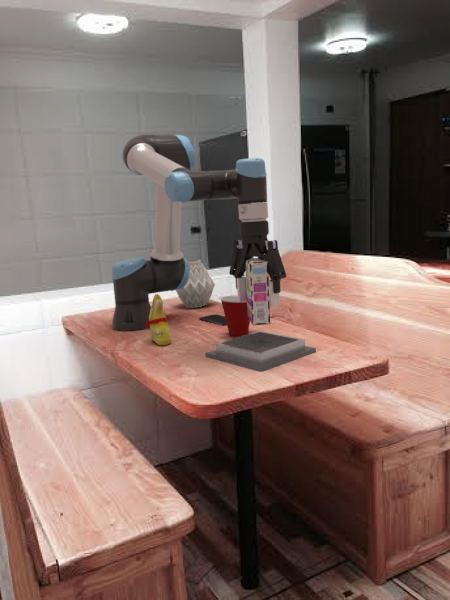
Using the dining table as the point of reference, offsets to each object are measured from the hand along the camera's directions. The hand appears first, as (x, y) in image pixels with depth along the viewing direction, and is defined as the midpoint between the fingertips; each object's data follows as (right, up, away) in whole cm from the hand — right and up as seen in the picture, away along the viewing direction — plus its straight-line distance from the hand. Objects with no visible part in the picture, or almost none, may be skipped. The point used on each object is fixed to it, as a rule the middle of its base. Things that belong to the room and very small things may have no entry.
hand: (258, 303), depth 142 cm
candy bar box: (0, -5, +1) cm, 5 cm away
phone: (-11, -7, +45) cm, 47 cm away
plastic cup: (-4, -10, +25) cm, 27 cm away
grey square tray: (+1, -14, +3) cm, 14 cm away
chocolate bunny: (-29, -12, +22) cm, 38 cm away
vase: (-21, -2, +74) cm, 77 cm away
